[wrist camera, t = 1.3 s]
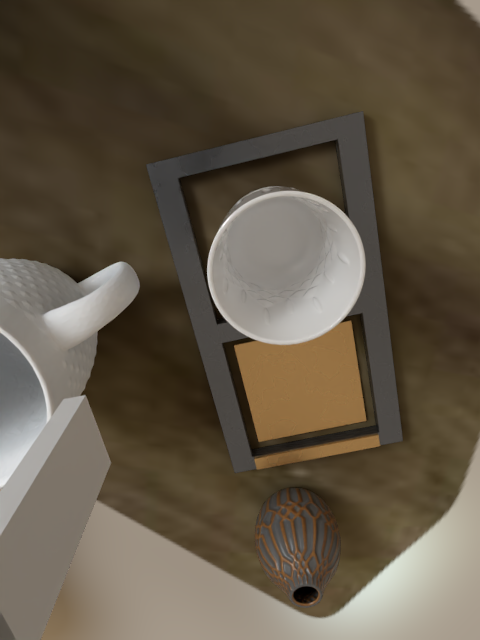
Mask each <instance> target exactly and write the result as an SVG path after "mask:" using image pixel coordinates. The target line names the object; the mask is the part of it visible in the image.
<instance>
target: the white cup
mask: <svg viewBox="0 0 480 640" xmlns="http://www.w3.org/2000/svg"><path fill="white" fill-rule="evenodd" d="M365 268H366V261H365V252H364V247H363V244H362V241H361V238H360V236H359V233H358V231H357V229H356V228H355V226H354V225H353V223H352V222H351V220H350V219H349V218H348V217H347V216H346V214H345V213H344V212H343V211H341V210H340V209H339V208H338V207H337V206H335V205H334V204H332V203H331V202H329V201H327V200H326V199H324V198H321V197H319V196H317V195H314V194H310V193H307V192H304V191H302V190H298V189H294V188H290V187H282V186H270V187H265V188H261V189H258V190H254V191H251V192H250V193H248V194H247V195H246V196H244V197H243V198H242V199H240V200H239V201H238V202H237V203H236V204H235V205H234V206H233V207H232V209H231V210H230V211H229V213H228V214H227V215H226V217H225V219H224V220H223V222H222V224H221V226H220V228H219V230H218V232H217V234H216V236H215V238H214V240H213V243H212V245H211V249H210V252H209V257H208V264H207V278H208V285H209V289H210V293H211V296H212V298H213V301H214V303H215V305H216V307H217V308H218V310H219V312H220V313H221V314H222V316H223V317H224V318H225V319H226V320H227V322H228V323H229V324H230V325H232V326H233V327H234V328H235V329H236V330H238V331H239V332H241V333H242V334H244V335H246V336H248V337H250V338H252V339H254V340H257V341H260V342H264V343H268V344H275V345H292V344H299V343H303V342H307V341H310V340H313V339H315V338H318V337H320V336H322V335H324V334H325V333H327V332H329V331H330V330H332V329H333V328H334V327H336V326H337V325H338V324H339V323H340V322H341V321H342V320H343V319H344V318H345V317H346V316H347V315H348V313H349V312H350V311H351V309H352V308H353V306H354V305H355V303H356V301H357V299H358V297H359V295H360V292H361V290H362V286H363V283H364V278H365Z"/></svg>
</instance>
